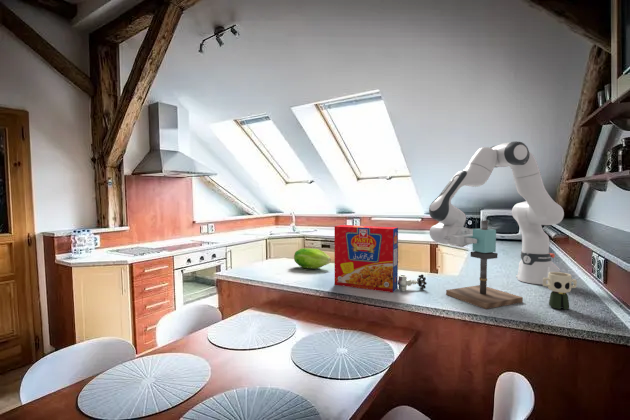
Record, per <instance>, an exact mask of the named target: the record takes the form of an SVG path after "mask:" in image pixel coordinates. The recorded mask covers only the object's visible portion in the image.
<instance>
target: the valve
mask: <svg viewBox="0 0 630 420" xmlns="http://www.w3.org/2000/svg"><path fill="white" fill-rule="evenodd" d="M417 276H418V278H417V280H416V279H413V280H412V279H410V278H408V277H407V274H406V275H405V274H398V291H401V292H406V291H408V290H407V286H408V287H411V286H412V285H418V286H419V287H420V290H424V289H427V288H426V285H427V283H428V282H427V281H426V279H427V278H426V277H424V276H425V275H424V274H420V275H419V274H418V275H417ZM407 278H408V279H407Z"/></svg>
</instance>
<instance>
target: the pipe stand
mask: <svg viewBox="0 0 630 420" xmlns="http://www.w3.org/2000/svg"><path fill="white" fill-rule="evenodd" d="M488 224H489V221H488V220H481V221H480V229H481V230H488V229H489V228H488ZM481 253H482V252H481ZM484 254H485V253H484ZM479 259H480V258H479ZM487 270H488V259H480V268H479V271H480V273H479V284H478V285H472V286H464V287H458V288H452V289H446V291H445V295H446V296H449V297H452V298H454V299H456V300H457V299H458V300H460V301H463V302H465V303H468V304H471V305H474V306H476V307H479V308H481V309H485V310H489V309H493V308H500V307H504V306H506V307H507V306H510V305H514V304H515V305H516V304H521V303H523V301H524V300H523V299H524V298H523V296H520V295H516V294H514V293H511V292H510V293H509V292H506V291H504V290H503V291H502V290H498V289H495V288H493V287H490V286H489V287H488V285H487V281H488V277H487V275H488V271H487Z"/></svg>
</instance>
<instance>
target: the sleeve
mask: <svg viewBox="0 0 630 420" xmlns="http://www.w3.org/2000/svg"><path fill="white" fill-rule="evenodd" d="M472 229H473V239H479V243H473V244H472V251H471V252H474V251H477V252H482V253H490V252H493V253H497V252H496V248H497V244H496V243H497V229H495V228H494V229H493V228H492V229H491V228H488V230H481V228H472Z"/></svg>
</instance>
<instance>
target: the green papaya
mask: <svg viewBox="0 0 630 420" xmlns="http://www.w3.org/2000/svg"><path fill="white" fill-rule="evenodd" d="M293 259H294V263H296V264H297V265H298V266H299V267H301V268H302V269H310V270H315V269H320V268H322V267H325V266H327V265H329V264H331V261H332V257H330V255H328V254H327V253H325V251H323V250H320V249H318V248H306V247H305V248H303V247H301V248H299V249H298V250H296V251H295V252H294V255H293Z"/></svg>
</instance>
